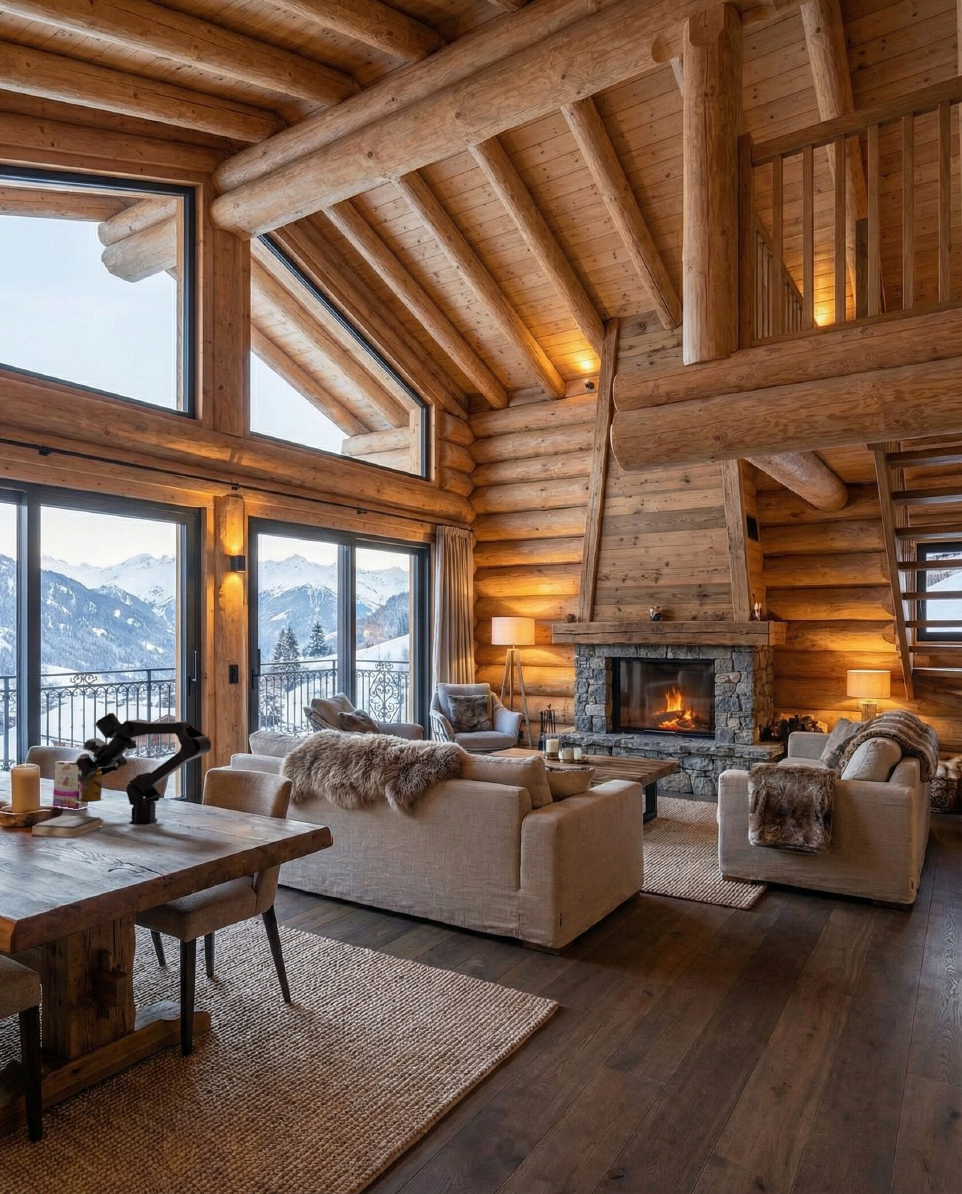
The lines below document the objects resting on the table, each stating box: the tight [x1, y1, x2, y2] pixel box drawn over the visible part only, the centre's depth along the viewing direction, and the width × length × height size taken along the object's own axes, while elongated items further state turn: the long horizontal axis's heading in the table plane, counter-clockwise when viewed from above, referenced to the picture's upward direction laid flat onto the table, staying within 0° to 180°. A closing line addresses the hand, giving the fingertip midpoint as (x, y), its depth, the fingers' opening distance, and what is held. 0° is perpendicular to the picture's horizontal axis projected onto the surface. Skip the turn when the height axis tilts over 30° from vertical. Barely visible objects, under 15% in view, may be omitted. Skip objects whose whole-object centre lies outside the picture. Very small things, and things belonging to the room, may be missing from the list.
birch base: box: [31, 814, 103, 838], centre depth 255 cm, size 14×14×3 cm
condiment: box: [72, 768, 106, 803], centre depth 274 cm, size 7×8×12 cm
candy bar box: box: [52, 760, 89, 809], centre depth 287 cm, size 11×5×16 cm, turn 73°
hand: (86, 779), depth 275 cm, fingers closed on condiment, 6 cm apart
